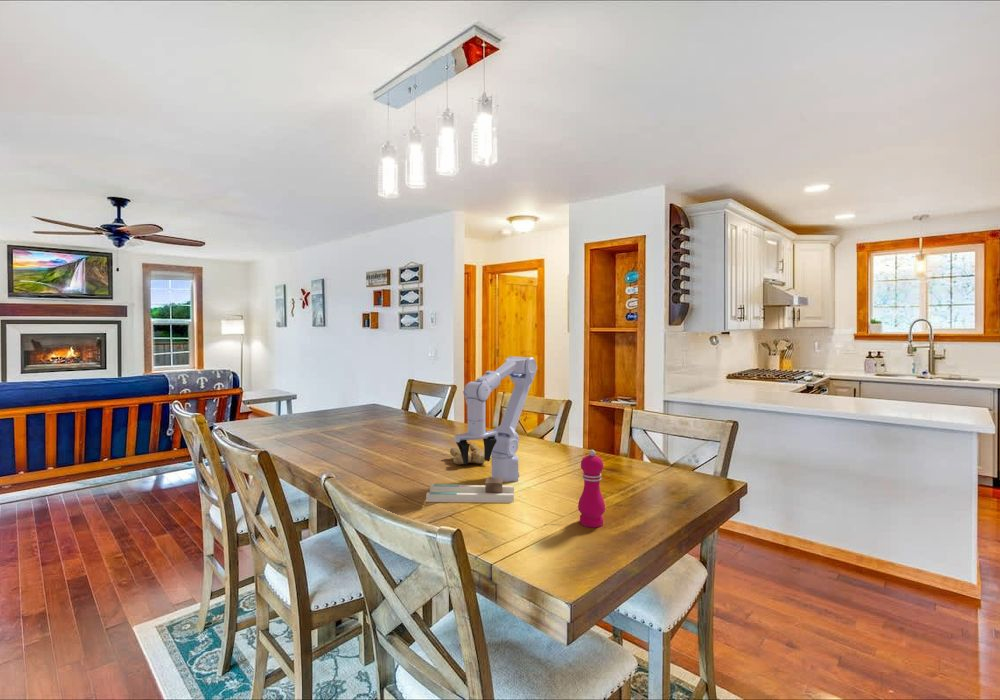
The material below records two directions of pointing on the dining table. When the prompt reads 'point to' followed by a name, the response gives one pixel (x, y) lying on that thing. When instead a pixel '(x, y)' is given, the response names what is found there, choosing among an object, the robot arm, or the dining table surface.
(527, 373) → the robot arm
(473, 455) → the ginger root
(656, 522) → the dining table surface
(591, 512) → the pepper mill
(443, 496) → the chute
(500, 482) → the walnut block
